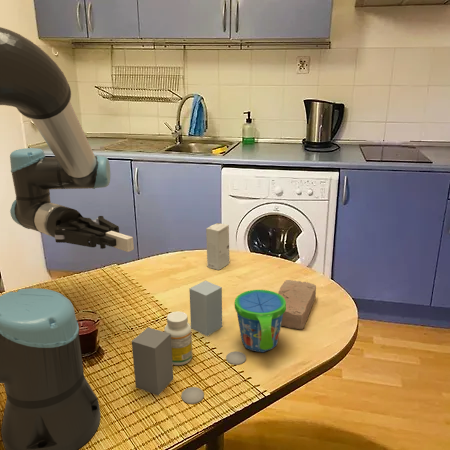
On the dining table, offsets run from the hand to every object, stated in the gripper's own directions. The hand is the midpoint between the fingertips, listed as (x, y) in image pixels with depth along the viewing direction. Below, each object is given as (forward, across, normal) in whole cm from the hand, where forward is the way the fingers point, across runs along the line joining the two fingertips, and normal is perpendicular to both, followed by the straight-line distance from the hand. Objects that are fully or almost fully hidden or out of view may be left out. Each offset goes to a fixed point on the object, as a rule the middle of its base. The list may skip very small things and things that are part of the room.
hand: (130, 244), depth 92 cm
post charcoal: (+13, +8, -22) cm, 27 cm away
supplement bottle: (+12, 0, -22) cm, 25 cm away
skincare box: (-9, -40, -22) cm, 47 cm away
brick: (+22, -30, -22) cm, 43 cm away
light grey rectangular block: (+9, -12, -22) cm, 27 cm away
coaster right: (+21, -6, -22) cm, 31 cm away
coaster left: (+21, +7, -22) cm, 31 cm away
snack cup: (+22, -14, -22) cm, 34 cm away
